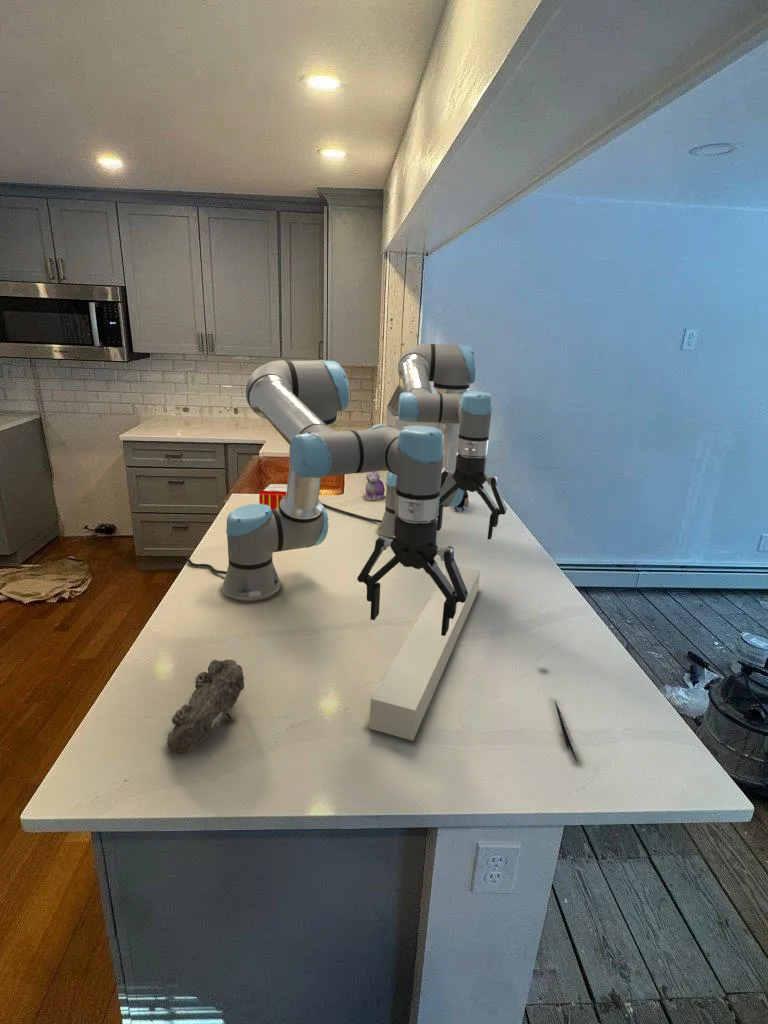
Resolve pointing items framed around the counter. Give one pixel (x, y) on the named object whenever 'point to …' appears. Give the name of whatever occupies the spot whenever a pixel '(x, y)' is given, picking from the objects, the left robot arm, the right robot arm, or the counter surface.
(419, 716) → the wide beam
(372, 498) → the figurine
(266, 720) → the counter surface
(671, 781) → the counter surface
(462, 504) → the figurine character
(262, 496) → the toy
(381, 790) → the counter surface
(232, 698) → the fossil
